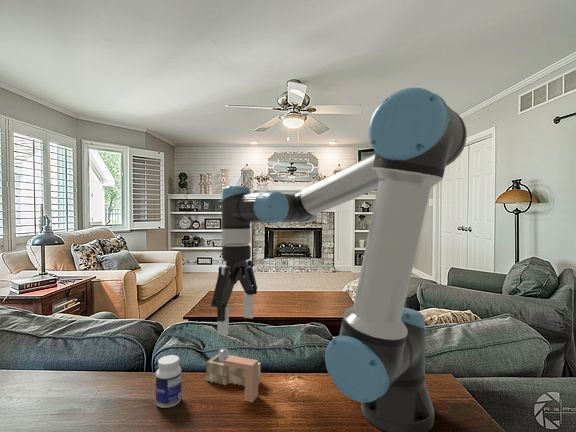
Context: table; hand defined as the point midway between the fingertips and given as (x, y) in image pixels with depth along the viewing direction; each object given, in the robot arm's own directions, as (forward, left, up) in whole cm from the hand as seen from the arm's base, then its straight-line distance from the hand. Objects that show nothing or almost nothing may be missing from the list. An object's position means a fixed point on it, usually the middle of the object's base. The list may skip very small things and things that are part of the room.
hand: (236, 325), depth 86 cm
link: (0, 0, -15) cm, 14 cm away
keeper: (-5, +6, -14) cm, 17 cm away
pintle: (+4, 0, -15) cm, 15 cm away
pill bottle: (+10, +14, -15) cm, 23 cm away
